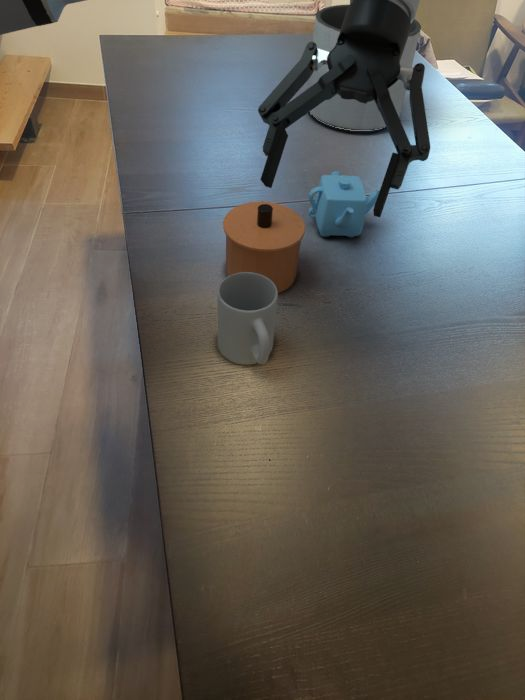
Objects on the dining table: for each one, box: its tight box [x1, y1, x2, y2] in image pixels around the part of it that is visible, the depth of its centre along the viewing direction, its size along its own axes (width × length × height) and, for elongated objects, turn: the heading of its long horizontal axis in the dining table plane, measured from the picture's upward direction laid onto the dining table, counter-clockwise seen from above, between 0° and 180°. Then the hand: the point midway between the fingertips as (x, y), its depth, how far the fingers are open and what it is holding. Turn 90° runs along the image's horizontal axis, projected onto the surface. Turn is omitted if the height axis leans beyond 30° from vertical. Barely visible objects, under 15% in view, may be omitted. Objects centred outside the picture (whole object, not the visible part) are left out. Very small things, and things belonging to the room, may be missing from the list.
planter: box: [305, 4, 422, 133], centre depth 128 cm, size 25×25×22 cm
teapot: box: [307, 170, 380, 238], centre depth 97 cm, size 18×14×10 cm
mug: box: [216, 272, 279, 366], centre depth 73 cm, size 12×8×11 cm
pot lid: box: [222, 201, 306, 252], centre depth 82 cm, size 13×13×4 cm
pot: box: [225, 234, 302, 294], centre depth 87 cm, size 12×12×10 cm
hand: (319, 198), depth 59 cm, fingers open, 13 cm apart
